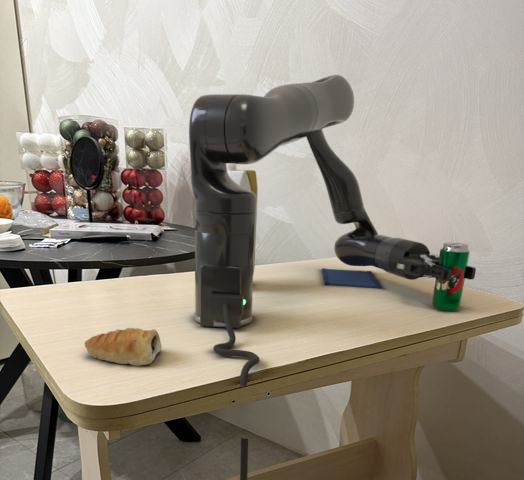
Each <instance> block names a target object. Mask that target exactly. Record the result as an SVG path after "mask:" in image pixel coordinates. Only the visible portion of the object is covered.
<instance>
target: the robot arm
mask: <svg viewBox="0 0 524 480" xmlns="http://www.w3.org/2000/svg"><path fill="white" fill-rule="evenodd" d="M354 107H355V94H354V91H353V88H352V86H351V84H350V83H349V81H348V80H347V78H345V77H344V76H342V75H340V74H332V75H329V76H325V77H323V78H320V79H317V80H314V81H311V82H298V83H287V84H282V85H277V86H275V87H273V88H271V89H270V90H268V91H267V92H266V93H265V94H264V95H263V96H261V95H254V94H242V93H241V94H239V93H238V94H237V93H231V94H228V93H227V94H223V93H222V94H218V93H216V94H204V95H201V96H199V97H197V99H196V100H195V101H194V103H193V105H192V106H191V110H190V115H189V122H188V143H189V158H190V159H189V160H190V161H189V162H190V183H191V190H192V194H193V197H194V209H195V210H194V321H196V322H197V323H199V326H200V327H213V328H225V329H226V332H227V334H228V338H229V339H228V341H226V342H222V343H216V344H215V345H214V346H213V351H214V352H215V353H216V355H220V356H224V357H225V356H226V357H237V358H239V357H240V358H246V359H249V360H248V361H246V362H245V363H244V365H243V366H242V369H241V371H240V376H239V386H241V387H246V386H247V385H248V376H249V372H250V370H251V369H252V368H253V367H254V366H256V365H258V364H259V363H260V361H261V360H260V357H259V356H258V355H257V354H256V353H254V352H252V351H250V350H242V349H230V348H232V347H234V345H235V344H236V340H237V338H236V333H235V330H234V329H240V328H241V327H242V326H246V325H248V324H250V323H251V322H252V321H253V293H254V275H253V268H254V242H255V219H256V196H255V194H254V193H253V192H252V191H250V190H248V189H246V188H244V187H242V186H240V185H238V184H237V183H236V182H235V181H233V180H232V179H231V177H230V176H229V175H228V172H227V167H226V164H236V165H250V164H255V163H258V162H260V161H261V160H264V158H267V156H269V155H270V154H271V153H272V152H274V151H275V150H277V149H278V148H279V147H282V146H283V147H284V146H286V145H288V144H292V143H296V142H297V141H299V140H302V139H304V138H306V140H307V143H308V145H309V147H310V150H311V153H312V156H313V158H314V159H315V162H316V164H317V166H318V169H319V172H320V174H321V176H322V179H323V182H324V184H325V188H326V192H327V195H328V200H329V203H330V206H331V210H332V215H333V218H334V220H335V222H336V223H337V224H339V225H348V224H353V225H354V227H355V228H354V229H352V230H350V231H348V232H346V233H344V234H342V235H340V236H339V237H338V238H337V239H336V240H335V242H334V245H333V246H334V247H333V249H334V254H335V256H336V258H337V259H338V260H339V262H341V263H343V264H344V265H347V266H350V267H374V268H376V269H380V270H383V271H384V272H386V273H389V274H392V275H395V276H396V277H400V278H403V279H406V280H409V281H413V280H417V279H421V278H428V279H432V278H435V279H436V278H437V279H440V280H444V281H450V280H451V274H452V270H451V269H450V268H446V267H442V266H439V265H438V261H439V254H436V253H431V252H430V250H429V247H428V246H427V245H426V244H425V243H423V242H419V241H416V240H415V241H414V240H410V239H407V238H406V239H405V238H401V237H392V236H388V235H383V234H379V232H378V230H377V229H376V228H375V225H374V224H373V221H372V220H371V218H370V216H369V214H368V213H367V211H366V208H365V205H364V200H363V197H362V192H361V188H360V184H359V181H358V179H357V177H356V175H355V174H354V172H353V171H352V170H351V169H350V167H349V166H348V165H347V164H346V163H345V162H344V161H343V160H342V159H341V158H340V157H339V156H338V155H337V154H336V152H335V151H334V150H333V149H332V147H331V146H330V145H329V143H328V141H327V139H326V136H325V134H324V130H323V129H326V128H331V127H332V126H337V125H341V124H342V123H345V122H346V121H348V119H350V117H351V116H352V113H353V111H354ZM254 269H255V268H254ZM476 272H477V270H476V267H475V266H470V265H467V270H466V275H465V280H469V281H470V280H474V279H475V277H476ZM248 464H249V438H242V437H241V438H240V464H239V465H240V466H239V467H240V469H239V470H240V472H239V480H248V471H249V467H248V466H249V465H248Z"/></svg>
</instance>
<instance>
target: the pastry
mask: <svg viewBox="0 0 524 480" xmlns="http://www.w3.org/2000/svg"><path fill="white" fill-rule="evenodd" d="M84 347H85V349H86V351H87V353H88V355H89V356H91V357H93V358H94V359H98V360H99V361H102V360H103V361H106V362H110V363H115V364H121V365H127V364H129V365H131V366H138V367H139V366H146V365H150V364H152V362H154V361H155V360H156V359H155V358H156V356H157V354H158V353H159V352H160V351H161V350H162V342H161V337H160V335H159V331H157V329H154V328H152V329H151V330H149V329H143V328H135V327H134V328H133V327H127V328H125V329H115V330H112V331H111V330H110V331H108V332H106V333H100V334H97V335H94V336H92V337H90V338H89V339H87V340H86V341H84Z"/></svg>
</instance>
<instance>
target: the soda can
mask: <svg viewBox="0 0 524 480" xmlns="http://www.w3.org/2000/svg"><path fill="white" fill-rule="evenodd" d="M470 253H471V252H470V249H469V245H468V244H466V243H461V242H443V245H442V247H441V248H440V250H439V254H438V256H439V261H438V265H439V266H442V267H446V268H450V269H451V270H452V274H451V280H450V281H444V280H440V279H437V278H435V279H434V280H435V281H434V286H433V293H432V299H431V305H432V307H433V308H434V309H436V310H439V311H443V312H455V311H458V310H459V308H460V307H461V302H462V297H463V292H464V286H465V280H466V278H465V275H466V270H467V266H468V263H469V257H470Z"/></svg>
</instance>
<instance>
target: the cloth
mask: <svg viewBox="0 0 524 480" xmlns="http://www.w3.org/2000/svg"><path fill="white" fill-rule="evenodd" d="M321 273H322V278H323V283H324V286H335V287H336V286H339V287H353V288H354V287H355V288H370V289H371V288H372V289H381V288H382V285H381V284H380V282H379V281H378V280H377V279H378V278H377V277H376V276H375V275H374V273H373V271H372V270H352V269H351V270H349V269H337V268H336V269H333V268H324V267H322V268H321Z"/></svg>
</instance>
